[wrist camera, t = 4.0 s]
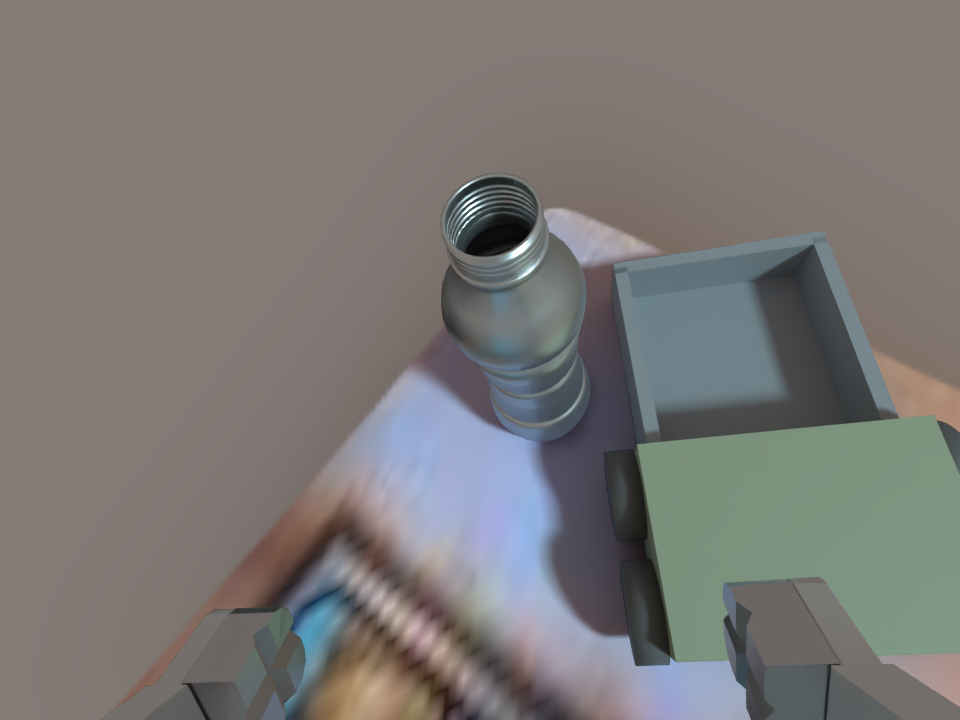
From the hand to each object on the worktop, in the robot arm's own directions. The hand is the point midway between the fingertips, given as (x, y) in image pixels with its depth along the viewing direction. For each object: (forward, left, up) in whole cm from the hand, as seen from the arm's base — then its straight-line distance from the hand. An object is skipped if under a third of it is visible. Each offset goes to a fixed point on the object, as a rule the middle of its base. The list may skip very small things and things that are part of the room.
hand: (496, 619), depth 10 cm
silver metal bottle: (+12, 0, -24) cm, 27 cm away
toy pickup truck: (+8, -12, -23) cm, 27 cm away
